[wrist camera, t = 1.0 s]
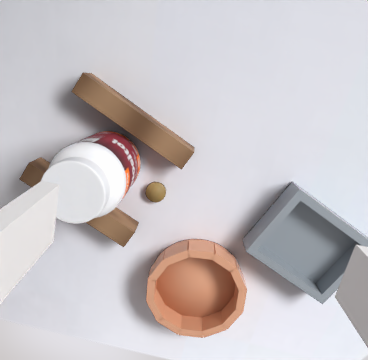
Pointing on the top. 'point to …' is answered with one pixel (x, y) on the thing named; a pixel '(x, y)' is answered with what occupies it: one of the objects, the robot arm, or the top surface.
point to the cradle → (140, 128)
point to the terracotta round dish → (196, 288)
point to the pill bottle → (93, 175)
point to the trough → (304, 242)
